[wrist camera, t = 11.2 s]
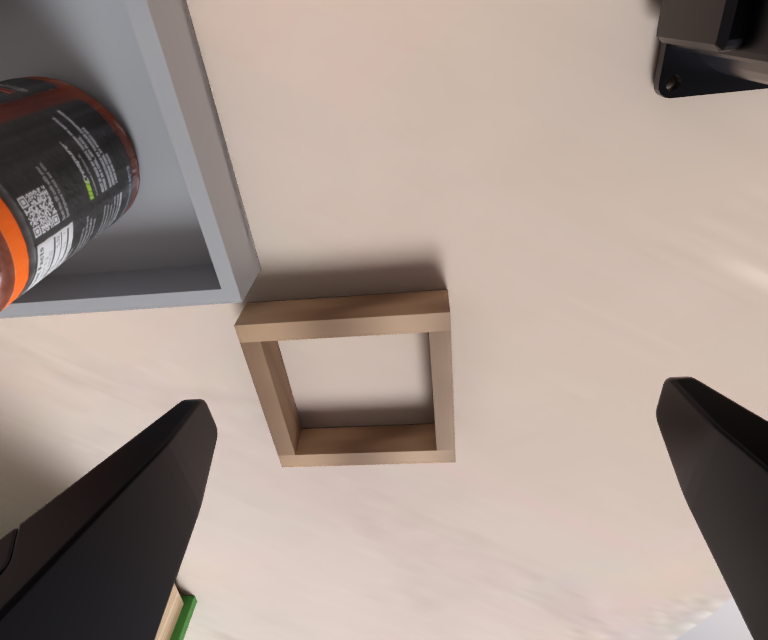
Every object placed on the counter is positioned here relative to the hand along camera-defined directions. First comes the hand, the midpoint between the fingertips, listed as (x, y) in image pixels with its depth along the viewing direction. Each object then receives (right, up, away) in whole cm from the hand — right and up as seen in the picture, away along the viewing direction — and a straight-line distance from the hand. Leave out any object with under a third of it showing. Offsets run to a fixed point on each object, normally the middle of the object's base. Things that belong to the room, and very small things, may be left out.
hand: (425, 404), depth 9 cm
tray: (-14, +9, +11) cm, 19 cm away
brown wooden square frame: (-2, -1, +17) cm, 17 cm away
